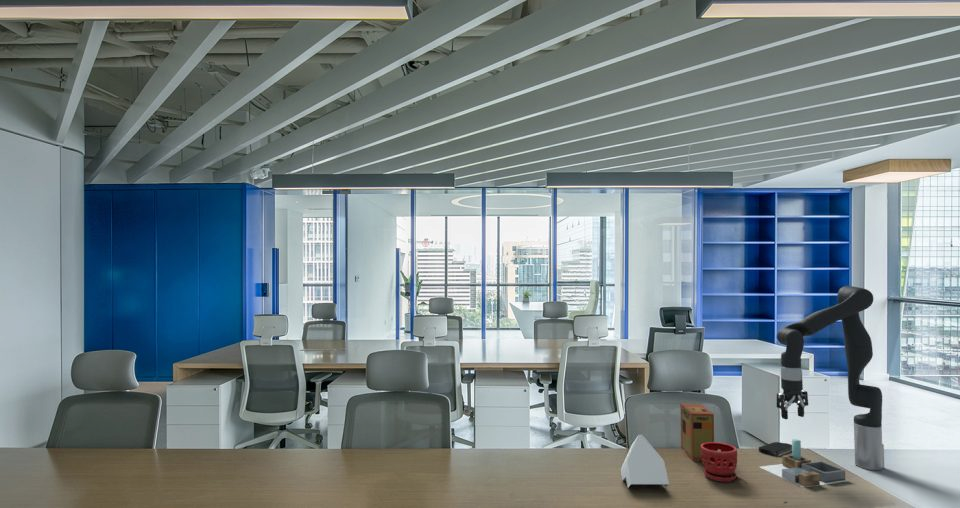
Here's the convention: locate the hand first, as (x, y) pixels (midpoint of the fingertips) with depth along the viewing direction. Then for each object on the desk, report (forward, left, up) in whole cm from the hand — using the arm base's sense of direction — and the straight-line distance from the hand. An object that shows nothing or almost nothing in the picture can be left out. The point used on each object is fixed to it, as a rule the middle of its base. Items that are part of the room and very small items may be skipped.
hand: (793, 417), depth 206 cm
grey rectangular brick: (+9, +10, -20) cm, 24 cm away
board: (+3, +6, -21) cm, 22 cm away
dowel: (0, +1, -20) cm, 20 cm away
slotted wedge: (+67, -6, -22) cm, 70 cm away
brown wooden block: (+9, +15, -20) cm, 27 cm away
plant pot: (+35, -2, -21) cm, 41 cm away
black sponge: (-9, -18, -22) cm, 29 cm away
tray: (-3, +11, -20) cm, 23 cm away
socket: (0, +1, -20) cm, 20 cm away
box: (+26, -26, -21) cm, 42 cm away
